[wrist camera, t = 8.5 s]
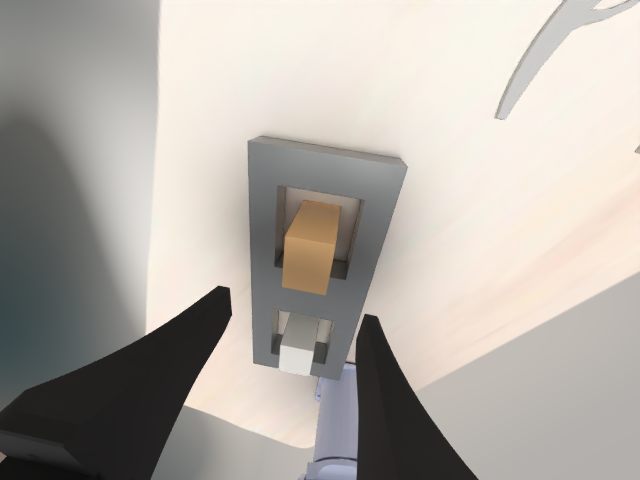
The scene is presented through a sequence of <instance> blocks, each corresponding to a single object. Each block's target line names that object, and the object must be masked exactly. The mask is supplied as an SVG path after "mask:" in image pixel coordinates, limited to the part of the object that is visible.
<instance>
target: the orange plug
mask: <svg viewBox="0 0 640 480" xmlns="http://www.w3.org/2000/svg"><path fill="white" fill-rule="evenodd" d="M340 210H341V206H336V205H330V204H325V203H319V202H313V201H307V200H304V201H303V203H302V205H301V207H300V209H299V211H298V213H297V214H296V216H295V218H294V220H293V222H292V224H291V226H290V228H289V230H288V232H287V233H286V235H285V246H284V262H283V277H282V287H284V288H289V289H295V290H300V291H305V292H310V293H316V294H321V295H326V292H327V287H328V282H329V277H330V272H331V267H332V262H333V257H334V252H335V247H336V240H337V233H338V225H339V217H340Z"/></svg>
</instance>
